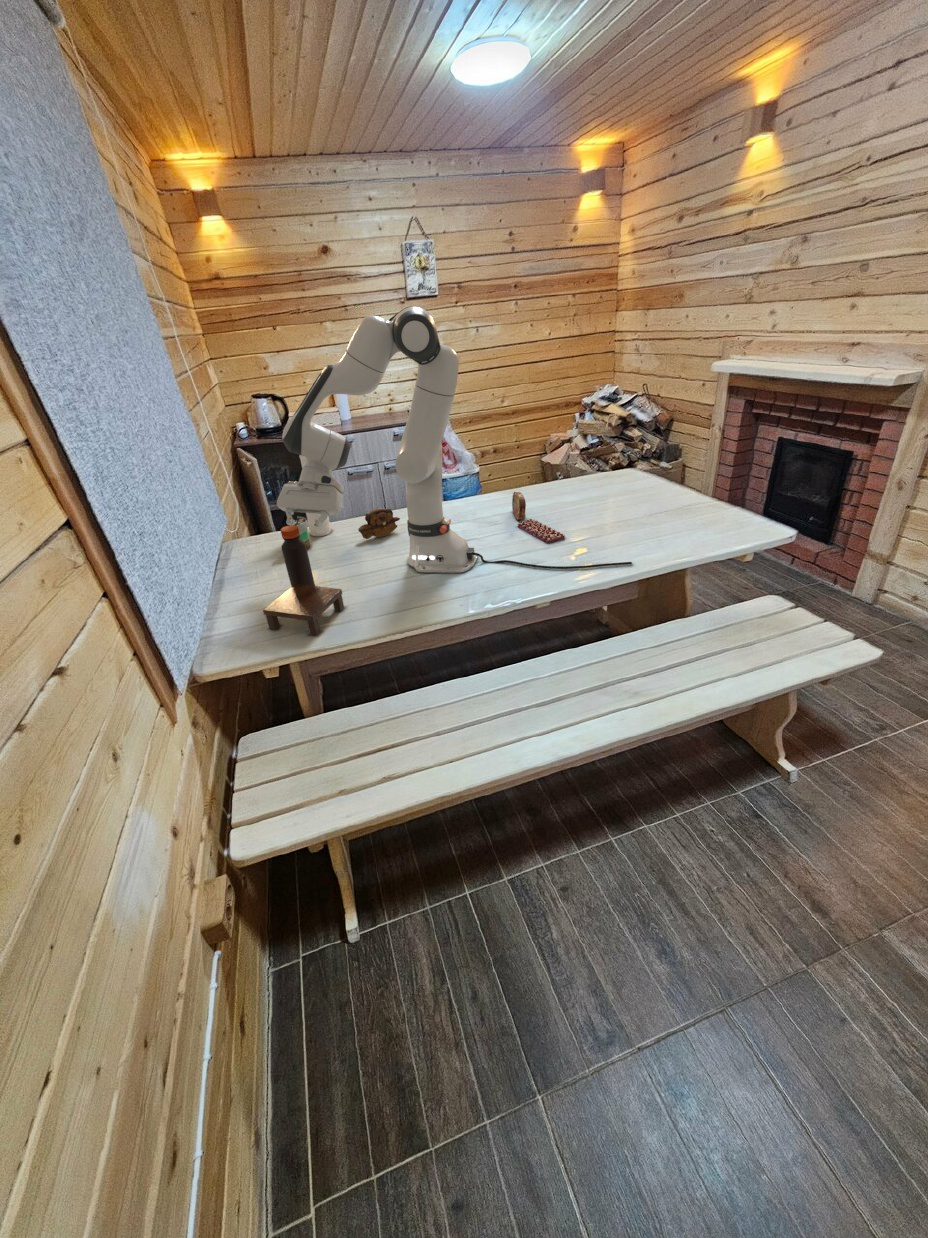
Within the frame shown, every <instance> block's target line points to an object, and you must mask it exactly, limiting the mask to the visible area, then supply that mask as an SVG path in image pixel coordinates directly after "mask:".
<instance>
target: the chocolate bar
mask: <svg viewBox="0 0 928 1238" xmlns="http://www.w3.org/2000/svg"><path fill="white" fill-rule="evenodd" d="M521 521H522V522H519V523H517V528H518V529H520V530H522V531H524V532H526V533H528V534H529V535H532V537H535V538H537V539H539V540H541V541H542V542H544V543H546V544H550V543H555V542H557V541H561V540H565V537H566V535H565V534H564V533H563V532H561V531H557V530H556V529H555V528H551V526H547V524H544V523H542V522H539V521H538V520H536V519H532V518H529V519H526V520H521Z"/></svg>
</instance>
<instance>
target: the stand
mask: <svg viewBox="0 0 928 1238" xmlns="http://www.w3.org/2000/svg"><path fill="white" fill-rule="evenodd" d="M332 604H333V609H334V611H335V612H342V611H343V610H344V609H345V604H344V599H343V590H342V588H337V587H336V588H335V587H334V588H333V587H327V586H326V587H325V586H318V585H315V586H309V585H300V584H294V585H293V586H292V587H291V586H290V587H289V588H288V589H287V590H286V591H284V592H283V593H282V594H281V595H280V596H279V597H277V598H276V599H274V600H273V601H272V602H271V603H270V604H268V605H267V606H266V607H265V608H263V609H262V611H263V615H265V618H266V622H267V625H268V629H269V630H276V631H277V629H279V628H280V627H281V624H280V620H279V618H285V619H291V620H292V619H293V620H300V621H306V622H307V627H308V631H309V634H310V636H318V635H319V634H320V633H321V632H322V631H321V625H320V621H319V617H320V616H322V614H323V613H324V612H325V611H326V610H327V609H328V608H329V607H330V606H332Z"/></svg>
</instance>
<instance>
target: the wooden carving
mask: <svg viewBox="0 0 928 1238" xmlns="http://www.w3.org/2000/svg"><path fill="white" fill-rule="evenodd" d="M400 519H401V518H400V517H397V516H394V512H393V510H392V509H391V508H375V509H373V510H370V512H368V513H365V517H364V520H365V521H366V524H362V525H360V526H359V528H358V529H357V530H358V532H359V533H360V534H361V536H362V538H363V539H366V540H368V539H370V538H372V537H375V538H382V537H386V536H388V535H390V534H392V533H393V532H394V531H395V530H397V528H398V524H396V523H397V522H399V521H400Z"/></svg>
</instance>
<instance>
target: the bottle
mask: <svg viewBox="0 0 928 1238" xmlns="http://www.w3.org/2000/svg"><path fill="white" fill-rule="evenodd" d="M298 457H299V459H300V464H301V468H303V466H304V465H305V463H306V457H305V456H303V455H299V456H298ZM305 516H306V520H307V521H308V524H309V526H308V531H309V533H310V535H311V536H313V537H323V536H327V535H329V534H331V532H332V527H331V523H330V522H331V521H330V518H329V516H328V517H327V519H326V520H325V521H324V522H322V526H321V528H319V527H316V526H314V523H315V520H318V518H319V517H320V516H321V515H320V514H315V513H305Z"/></svg>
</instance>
